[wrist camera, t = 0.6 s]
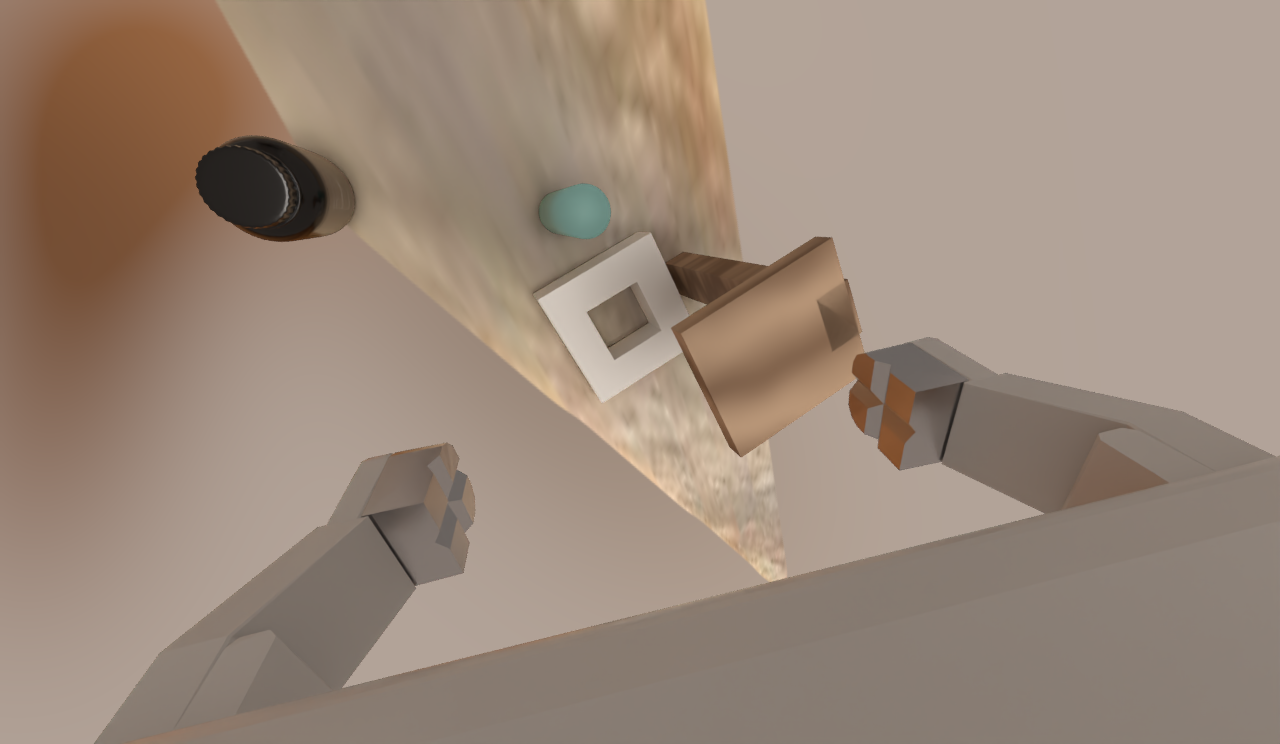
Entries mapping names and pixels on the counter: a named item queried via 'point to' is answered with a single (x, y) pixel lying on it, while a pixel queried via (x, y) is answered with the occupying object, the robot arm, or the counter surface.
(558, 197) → the peg
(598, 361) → the socket
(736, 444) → the brown wooden overhang stand
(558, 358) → the counter surface
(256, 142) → the supplement bottle
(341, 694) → the robot arm
